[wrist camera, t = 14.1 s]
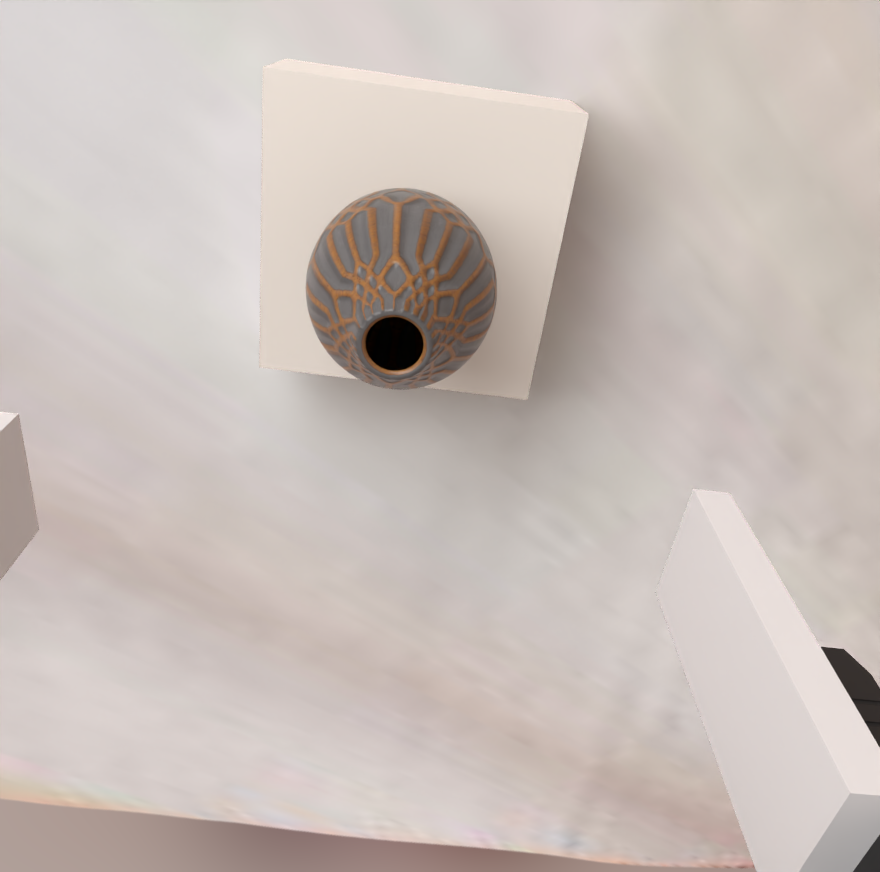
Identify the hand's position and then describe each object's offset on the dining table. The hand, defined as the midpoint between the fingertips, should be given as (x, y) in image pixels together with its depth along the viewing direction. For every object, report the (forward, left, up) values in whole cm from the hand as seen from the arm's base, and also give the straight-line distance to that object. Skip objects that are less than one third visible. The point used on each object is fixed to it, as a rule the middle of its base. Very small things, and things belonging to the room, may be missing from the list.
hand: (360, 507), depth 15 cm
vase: (0, 0, -18) cm, 18 cm away
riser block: (0, 0, -23) cm, 23 cm away
